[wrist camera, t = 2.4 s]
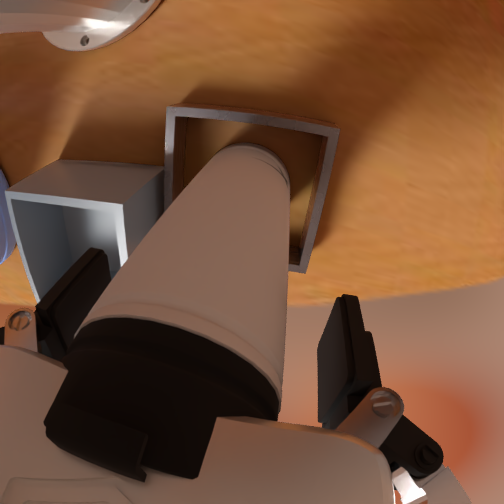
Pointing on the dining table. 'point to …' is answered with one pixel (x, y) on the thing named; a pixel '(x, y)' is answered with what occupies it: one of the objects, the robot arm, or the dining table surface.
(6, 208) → the water jug
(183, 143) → the metal collar
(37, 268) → the grey bin
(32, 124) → the dining table surface
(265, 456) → the robot arm
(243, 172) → the travel mug
